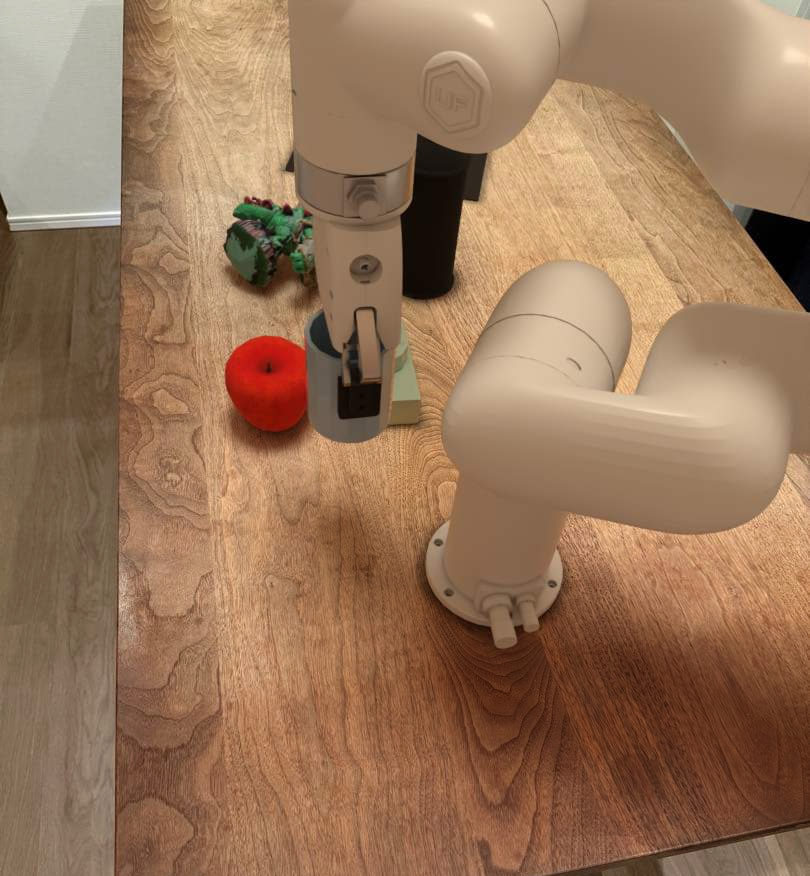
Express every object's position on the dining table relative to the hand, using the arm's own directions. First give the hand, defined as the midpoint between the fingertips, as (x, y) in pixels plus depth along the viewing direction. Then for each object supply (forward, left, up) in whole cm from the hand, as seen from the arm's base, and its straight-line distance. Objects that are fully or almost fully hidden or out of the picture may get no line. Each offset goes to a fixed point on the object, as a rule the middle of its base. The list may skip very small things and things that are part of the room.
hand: (350, 379), depth 69 cm
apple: (+14, +6, -18) cm, 23 cm away
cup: (0, 0, -4) cm, 4 cm away
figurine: (+39, +2, -18) cm, 42 cm away
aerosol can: (+36, -13, -18) cm, 42 cm away
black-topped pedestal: (+69, -15, -18) cm, 72 cm away
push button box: (+18, -5, -18) cm, 25 cm away
